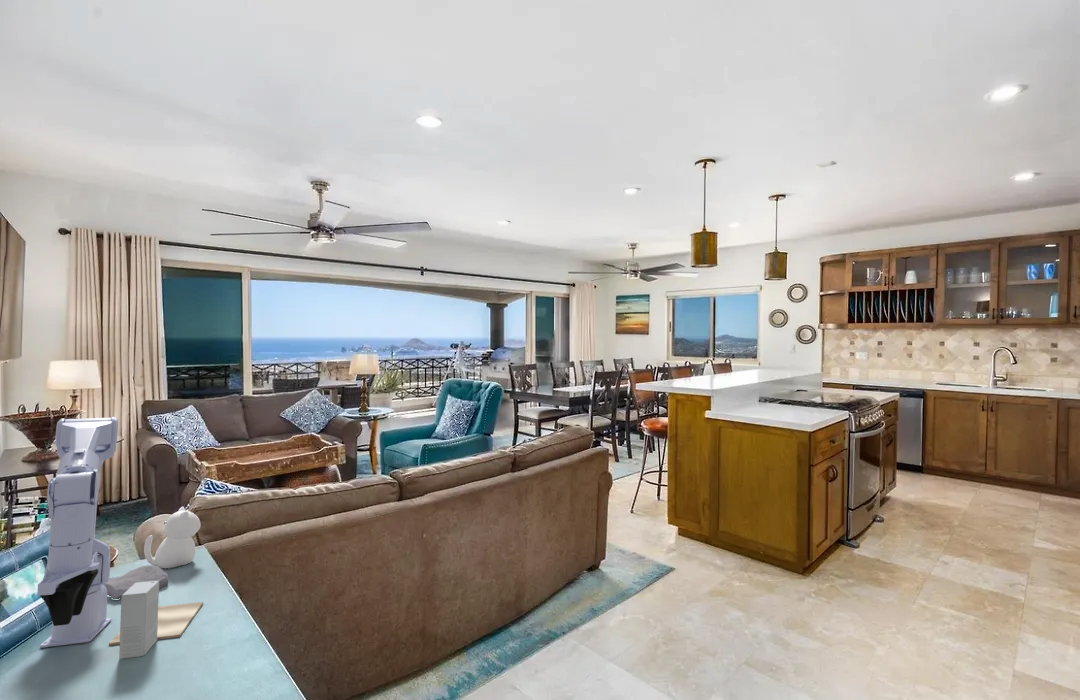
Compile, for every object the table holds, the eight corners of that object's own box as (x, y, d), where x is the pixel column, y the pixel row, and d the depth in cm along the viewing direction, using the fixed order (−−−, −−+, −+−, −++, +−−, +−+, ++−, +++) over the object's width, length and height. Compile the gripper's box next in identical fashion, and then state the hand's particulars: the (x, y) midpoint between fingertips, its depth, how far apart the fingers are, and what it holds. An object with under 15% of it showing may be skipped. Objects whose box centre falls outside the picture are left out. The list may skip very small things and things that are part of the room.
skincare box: (132, 643, 103) (135, 581, 103) (157, 640, 104) (160, 579, 104) (117, 659, 97) (120, 595, 97) (144, 656, 98) (147, 592, 98)
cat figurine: (201, 564, 142) (205, 509, 143) (144, 576, 134) (148, 517, 135) (195, 555, 149) (198, 503, 150) (140, 565, 140) (144, 509, 141)
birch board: (141, 610, 116) (141, 608, 116) (202, 604, 119) (203, 601, 119) (108, 645, 102) (108, 642, 102) (179, 637, 105) (180, 634, 105)
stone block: (172, 592, 130) (150, 576, 134) (174, 574, 129) (152, 559, 133) (116, 614, 119) (94, 596, 123) (118, 594, 118) (96, 577, 123)
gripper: (76, 553, 86) (72, 637, 85) (117, 527, 99) (114, 598, 99) (23, 557, 83) (18, 643, 83) (72, 529, 97) (69, 603, 97)
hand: (67, 619), depth 91 cm, fingers open, 3 cm apart
